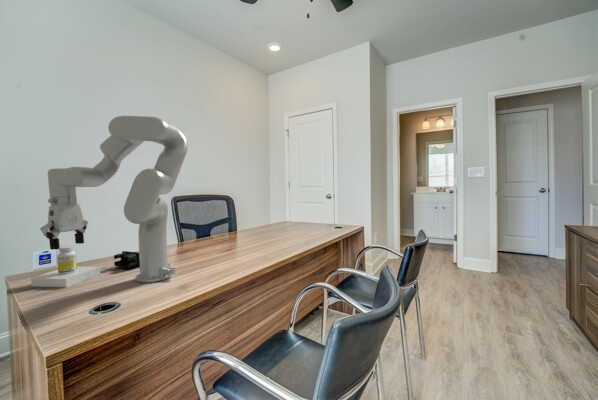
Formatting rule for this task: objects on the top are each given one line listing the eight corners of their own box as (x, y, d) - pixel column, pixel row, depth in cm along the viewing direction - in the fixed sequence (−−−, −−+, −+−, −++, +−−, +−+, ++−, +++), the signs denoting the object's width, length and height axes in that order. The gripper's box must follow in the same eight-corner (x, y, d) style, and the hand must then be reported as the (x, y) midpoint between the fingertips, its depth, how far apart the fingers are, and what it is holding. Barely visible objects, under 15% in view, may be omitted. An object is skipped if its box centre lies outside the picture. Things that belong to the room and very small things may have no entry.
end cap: (145, 266, 119) (144, 251, 118) (130, 270, 112) (129, 255, 112) (129, 264, 122) (128, 249, 122) (113, 268, 116) (113, 253, 115)
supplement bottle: (66, 270, 104) (64, 245, 103) (80, 269, 104) (79, 245, 104) (54, 274, 98) (52, 248, 98) (69, 274, 99) (68, 248, 98)
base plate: (100, 274, 108) (99, 267, 108) (66, 287, 94) (66, 279, 94) (69, 273, 109) (68, 266, 109) (31, 286, 95) (31, 278, 95)
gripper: (48, 202, 91) (53, 251, 92) (93, 199, 108) (96, 241, 109) (29, 203, 92) (34, 252, 93) (76, 200, 109) (80, 241, 110)
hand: (68, 246), depth 101 cm, fingers open, 9 cm apart
